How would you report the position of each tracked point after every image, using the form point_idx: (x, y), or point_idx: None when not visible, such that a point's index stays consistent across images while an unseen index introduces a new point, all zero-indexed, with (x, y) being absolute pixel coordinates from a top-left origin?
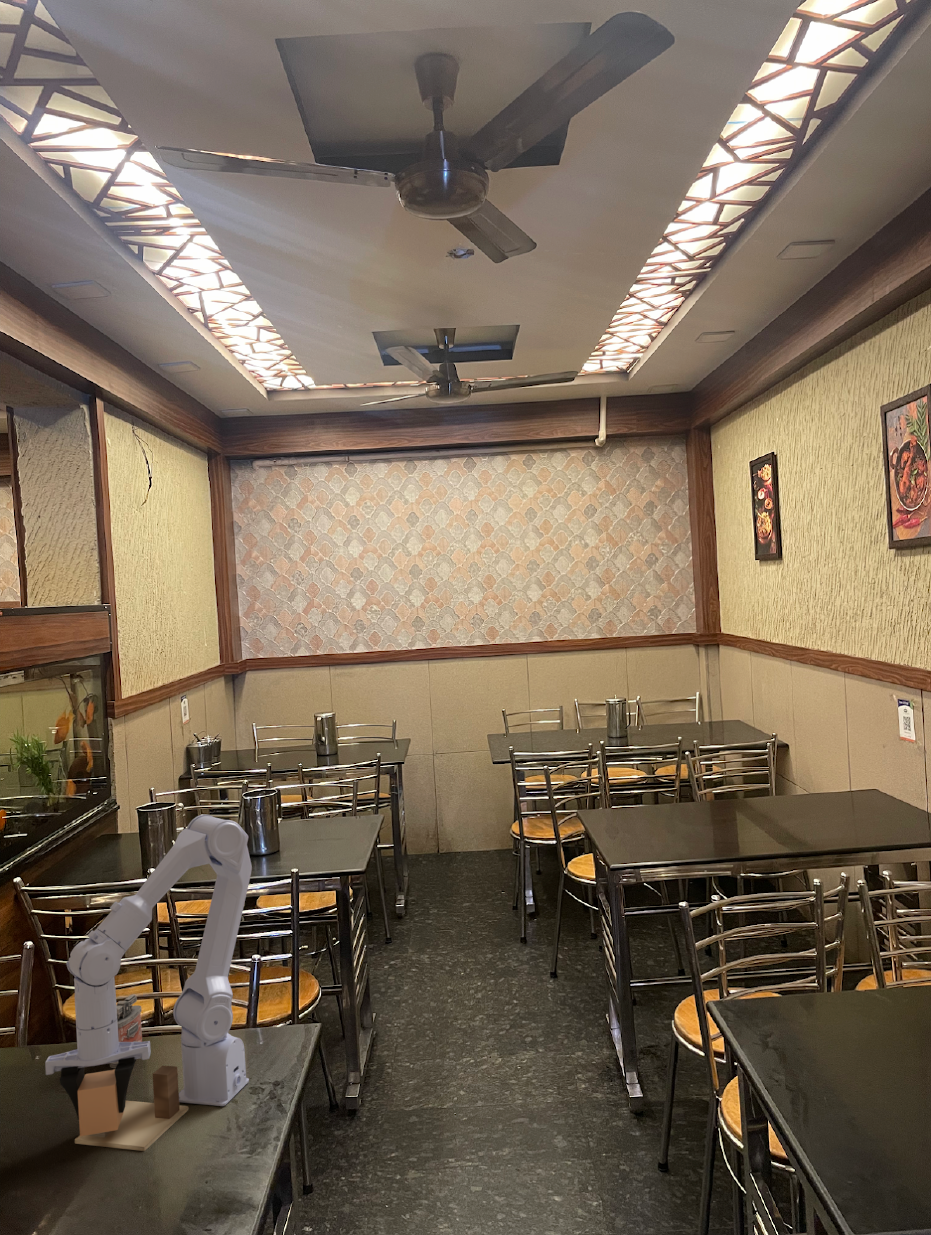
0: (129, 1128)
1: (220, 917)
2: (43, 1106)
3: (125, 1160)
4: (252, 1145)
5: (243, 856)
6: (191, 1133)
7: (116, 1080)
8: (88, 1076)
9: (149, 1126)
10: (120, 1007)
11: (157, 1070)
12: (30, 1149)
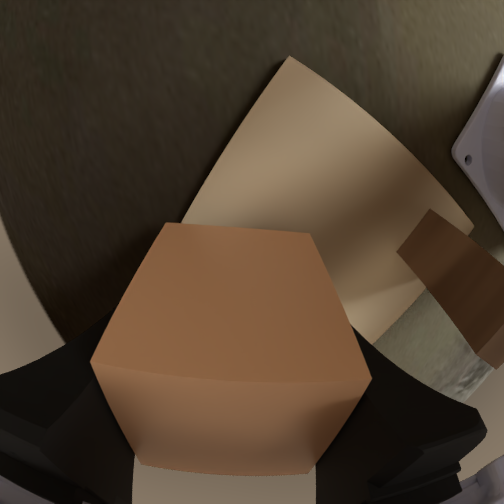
0: None
1: None
2: (22, 15)
3: None
4: (476, 372)
5: None
6: (438, 325)
7: (318, 480)
8: (130, 394)
9: (373, 294)
10: None
11: (499, 331)
12: (46, 253)
